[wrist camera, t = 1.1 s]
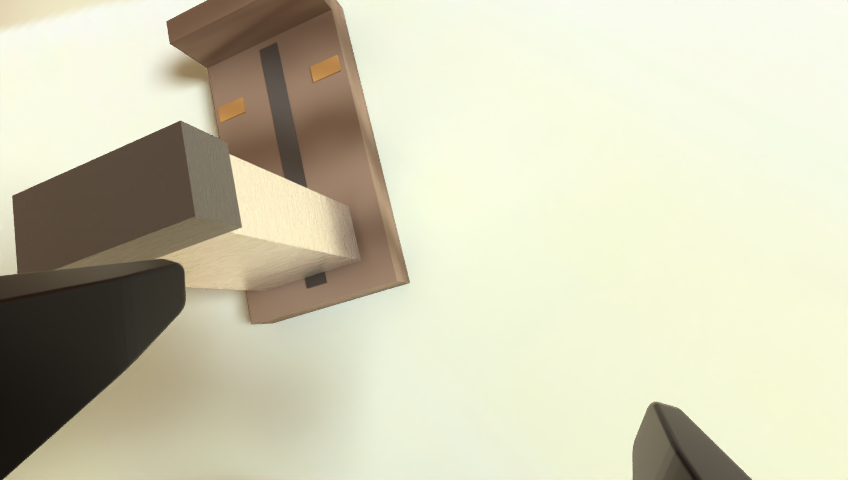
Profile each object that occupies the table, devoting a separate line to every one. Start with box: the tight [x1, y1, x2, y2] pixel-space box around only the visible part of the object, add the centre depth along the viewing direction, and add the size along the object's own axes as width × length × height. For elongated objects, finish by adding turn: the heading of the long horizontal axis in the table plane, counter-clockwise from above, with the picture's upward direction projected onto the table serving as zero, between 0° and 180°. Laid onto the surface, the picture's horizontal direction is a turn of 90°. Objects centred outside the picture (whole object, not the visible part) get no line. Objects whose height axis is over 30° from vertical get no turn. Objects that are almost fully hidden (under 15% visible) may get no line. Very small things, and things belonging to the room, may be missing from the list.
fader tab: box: [12, 121, 361, 291], centre depth 20 cm, size 3×7×12 cm, turn 106°
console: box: [166, 0, 410, 324], centre depth 27 cm, size 18×9×5 cm, turn 16°
